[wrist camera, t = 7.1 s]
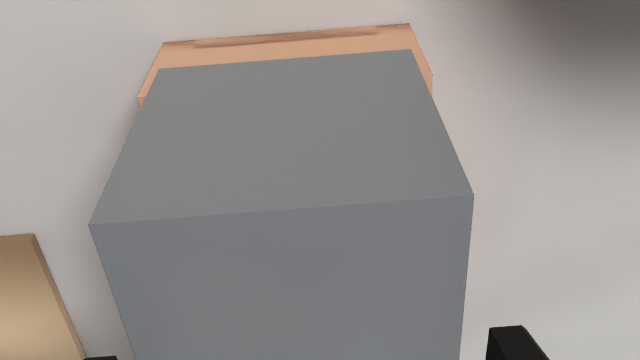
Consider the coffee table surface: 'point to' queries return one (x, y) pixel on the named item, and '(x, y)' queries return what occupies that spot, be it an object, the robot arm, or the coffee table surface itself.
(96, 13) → the coffee table surface
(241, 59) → the peach slab
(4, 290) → the wooden board
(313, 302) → the gray rectangular block
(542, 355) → the robot arm
